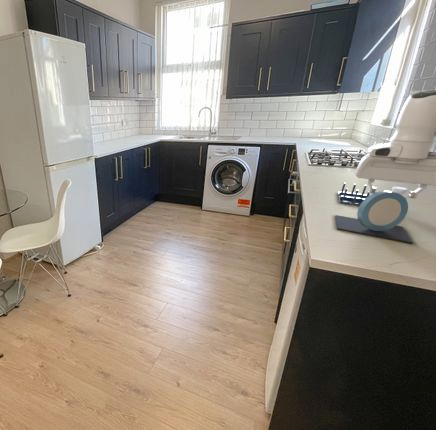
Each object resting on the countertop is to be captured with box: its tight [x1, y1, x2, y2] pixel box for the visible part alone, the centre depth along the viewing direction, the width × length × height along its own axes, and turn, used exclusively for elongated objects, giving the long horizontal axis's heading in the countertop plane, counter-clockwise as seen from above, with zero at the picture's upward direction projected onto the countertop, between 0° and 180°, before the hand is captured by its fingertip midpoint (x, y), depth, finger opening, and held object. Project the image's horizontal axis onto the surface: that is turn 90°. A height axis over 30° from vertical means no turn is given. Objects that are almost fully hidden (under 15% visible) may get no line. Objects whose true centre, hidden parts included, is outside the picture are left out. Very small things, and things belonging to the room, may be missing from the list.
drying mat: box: [335, 214, 413, 245], centre depth 93 cm, size 18×14×1 cm
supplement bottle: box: [391, 186, 409, 200], centre depth 105 cm, size 5×5×10 cm
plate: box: [356, 190, 409, 231], centre depth 89 cm, size 2×13×13 cm
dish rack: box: [337, 182, 371, 207], centre depth 119 cm, size 10×16×6 cm, turn 145°
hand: (391, 195), depth 87 cm, fingers open, 8 cm apart
